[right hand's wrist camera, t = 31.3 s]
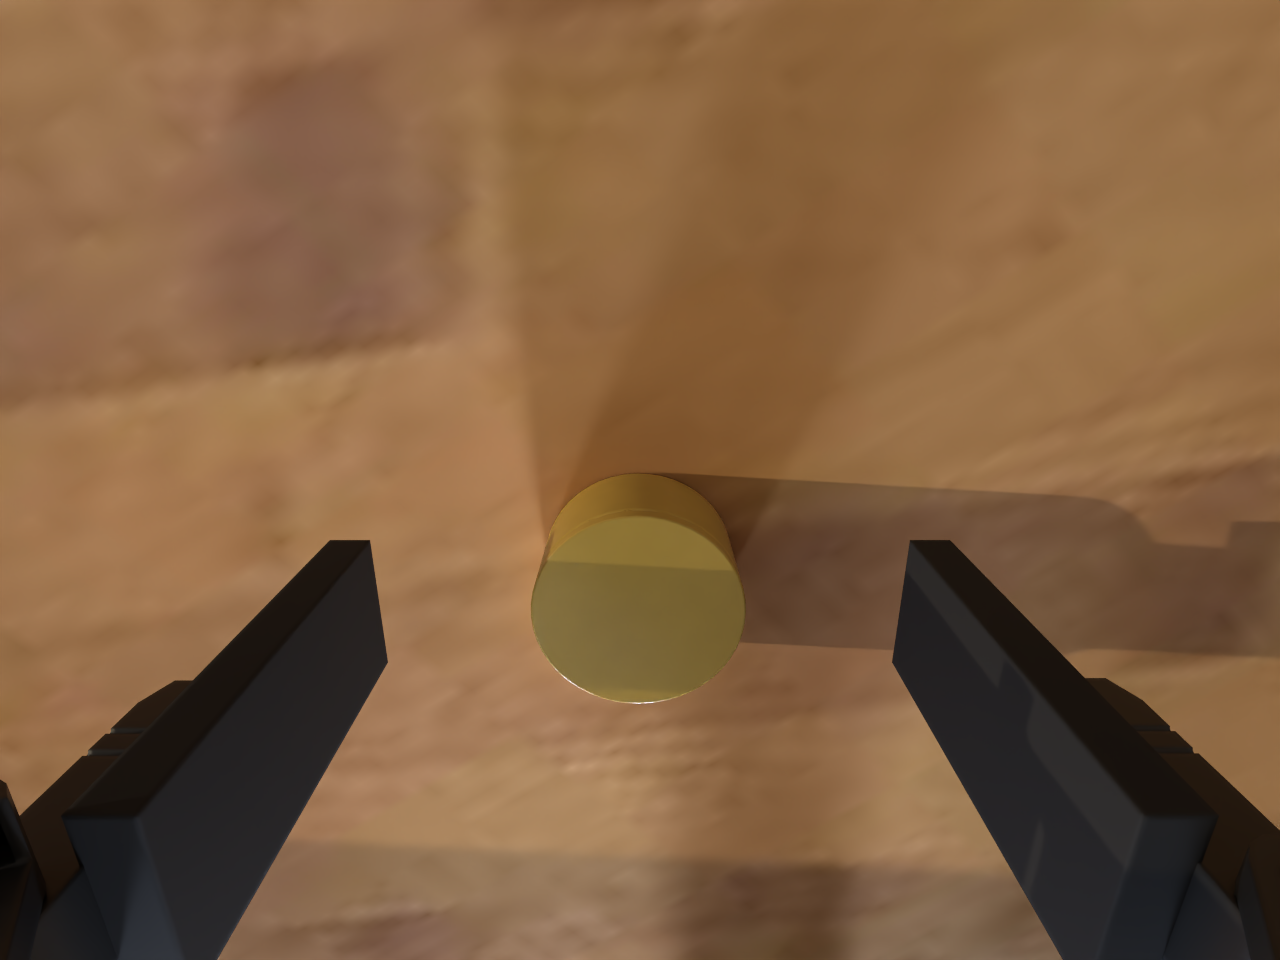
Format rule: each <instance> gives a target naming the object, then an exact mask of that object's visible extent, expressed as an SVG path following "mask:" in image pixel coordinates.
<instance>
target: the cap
mask: <svg viewBox="0 0 1280 960" xmlns="http://www.w3.org/2000/svg"><path fill="white" fill-rule="evenodd" d="M745 616H746V602H745V595H744V590H743V586H742V582H741V579H740V575H739V571H738V568H737V564H736V561H735V557H734V554H733V550H732V547H731V543H730V540H729V536H728V533H727V531H726V528H725V525H724V524H723V522H722V520H721V518H720V516H719V515H718V513H717V512H716V510H715V509H714V508H713V506H712V505H711V504H710V503H709V502H708V501H707V500H706V499H705V498H704V497H702V496H701V495H700V494H699V493H697V492H696V491H695V490H693V489H691V488H690V487H688V486H686V485H685V484H682V483H680V482H678V481H676V480H673V479H670V478H667V477H664V476H660V475H652V474H638V473H636V474H624V475H619V476H614V477H610V478H607V479H604V480H601V481H599V482H597V483H594V484H593V485H591V486H589V487H587V488H586V489H584V490H583V491H581V492H580V493H578V494H577V495H576V496H575V497H574V498H573V499H571V500H570V501H569V502H568V503H567V505H566V506H565V507H564V508H563V509H562V510H561V512H560V514H559V515H558V517H557V518H556V520H555V522H554V524H553V526H552V528H551V531H550V534H549V538H548V541H547V544H546V548H545V551H544V555H543V558H542V562H541V565H540V568H539V572H538V575H537V579H536V582H535V586H534V589H533V593H532V601H531V618H532V624H533V630H534V633H535V636H536V639H537V641H538V643H539V646H540V648H541V650H542V652H543V653H544V655H545V656H546V658H547V659H548V661H549V662H550V663H551V664H552V666H553V667H554V668H555V669H556V670H557V671H558V672H559V673H560V674H561V675H562V676H563V677H565V678H566V679H567V680H568V681H570V682H571V683H573V684H574V685H575V686H577V687H579V688H580V689H582V690H584V691H586V692H588V693H590V694H593V695H596V696H598V697H601V698H604V699H608V700H612V701H617V702H624V703H640V704H641V703H654V702H660V701H665V700H669V699H673V698H676V697H679V696H682V695H684V694H686V693H689V692H691V691H693V690H695V689H696V688H698V687H700V686H702V685H703V684H705V683H706V682H707V681H709V680H710V679H711V678H713V677H714V676H715V675H716V674H717V673H718V672H719V671H720V670H721V669H722V668H723V667H724V666H725V664H726V663H727V662H728V660H729V659H730V658H731V656H732V654H733V653H734V651H735V649H736V648H737V646H738V643H739V641H740V638H741V636H742V632H743V628H744V625H745Z"/></svg>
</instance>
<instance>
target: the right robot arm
mask: <svg viewBox="0 0 1280 960" xmlns="http://www.w3.org/2000/svg"><path fill="white" fill-rule="evenodd" d="M387 663H388V660H387V653H386V647H385V640H384V633H383V626H382V619H381V613H380V606H379V599H378V592H377V585H376V578H375V572H374V565H373V558H372V551H371V544H370V540H330V541H329V542H328V543H327V544H326V545H325V546H324V547H323V548H322V549H321V550H320V551H319V552H318V553H317V554H316V555H315V556H314V557H313V558H312V559H311V560H310V561H309V562H308V563H307V564H306V565H305V566H304V567H303V568H302V569H301V570H300V571H299V572H298V574H297V575H296V576H295V577H294V578H293V579H292V580H291V581H290V582H289V583H288V584H287V585H286V586H285V587H284V588H283V589H282V590H281V591H280V592H279V593H278V594H277V595H276V596H275V597H274V598H273V599H272V600H271V601H270V602H269V603H268V604H267V605H266V606H265V607H264V608H263V609H262V610H261V611H260V612H259V613H258V614H257V615H256V616H255V617H254V619H253V620H252V621H251V622H250V623H249V624H248V625H247V626H246V627H245V628H244V629H243V630H242V631H241V632H240V633H239V634H238V635H237V636H236V637H235V638H234V639H233V640H232V641H231V642H230V643H229V644H228V645H227V646H226V647H225V648H224V649H223V650H222V651H221V652H220V653H219V654H218V655H217V656H216V657H215V658H214V659H213V660H212V661H211V662H210V664H209V665H208V666H207V667H206V668H205V669H204V670H203V671H202V672H201V673H200V674H199V675H198V676H197V677H196V678H195V679H194V680H193V681H174V682H172V683H170V684H169V685H167V686H165V687H164V688H162V689H160V690H159V691H157V692H155V693H154V694H152V695H150V696H149V697H147V698H145V699H144V700H142V701H140V702H139V703H137V704H136V705H135V706H134V707H133V708H132V709H131V710H130V711H129V712H128V713H127V714H126V715H125V716H124V717H123V718H122V719H121V720H120V721H119V722H117V723H116V724H115V725H114V726H113V727H112V728H111V733H110V734H105V735H104V736H103V737H102V738H101V739H100V740H99V741H98V742H97V743H95V744H94V745H93V746H92V747H91V748H90V749H89V750H88V755H87V756H82V757H81V758H80V759H79V760H78V761H77V762H76V763H75V764H74V765H72V766H71V767H70V768H69V769H68V770H67V771H66V772H65V773H64V774H63V775H62V776H61V777H60V778H59V779H58V780H57V781H56V782H55V783H54V784H53V785H52V786H50V787H49V788H48V789H47V790H46V791H45V792H44V793H43V794H42V795H41V796H40V797H39V798H38V799H37V800H36V801H35V802H34V803H33V804H32V805H31V806H30V807H29V808H27V809H26V810H25V811H24V812H23V813H22V814H21V815H20V816H19V814H18V812H17V809H16V807H15V804H14V802H13V799H12V797H11V794H10V792H9V789H8V786H7V784H6V783H5V782H3V781H1V780H0V960H217V959H218V957H219V955H220V954H221V952H222V950H223V948H224V947H225V945H226V943H227V941H228V940H229V938H230V936H231V934H232V933H233V931H234V929H235V928H236V926H237V924H238V922H239V921H240V919H241V917H242V915H243V914H244V912H245V910H246V908H247V907H248V905H249V903H250V901H251V900H252V898H253V896H254V894H255V893H256V891H257V889H258V887H259V886H260V884H261V882H262V880H263V879H264V877H265V875H266V874H267V872H268V870H269V868H270V867H271V865H272V863H273V861H274V860H275V858H276V856H277V854H278V853H279V851H280V849H281V847H282V846H283V844H284V842H285V840H286V839H287V837H288V835H289V833H290V832H291V830H292V828H293V827H294V825H295V823H296V821H297V820H298V818H299V816H300V814H301V813H302V811H303V809H304V807H305V806H306V804H307V802H308V800H309V799H310V797H311V795H312V793H313V792H314V790H315V788H316V786H317V785H318V783H319V781H320V779H321V778H322V776H323V774H324V773H325V771H326V769H327V767H328V766H329V764H330V762H331V760H332V759H333V757H334V755H335V753H336V752H337V750H338V748H339V746H340V745H341V743H342V741H343V739H344V738H345V736H346V734H347V732H348V731H349V729H350V727H351V726H352V724H353V722H354V720H355V719H356V717H357V715H358V713H359V712H360V710H361V708H362V706H363V705H364V703H365V701H366V699H367V698H368V696H369V694H370V692H371V691H372V689H373V687H374V685H375V684H376V682H377V680H378V678H379V677H380V675H381V673H382V672H383V670H384V668H385V666H386V665H387ZM892 663H893V665H894V666H895V668H896V670H897V672H898V673H899V675H900V677H901V679H902V680H903V682H904V684H905V685H906V687H907V689H908V691H909V692H910V694H911V696H912V698H913V699H914V701H915V703H916V705H917V706H918V708H919V710H920V712H921V713H922V715H923V717H924V719H925V720H926V722H927V724H928V726H929V727H930V729H931V731H932V733H933V734H934V736H935V738H936V739H937V741H938V743H939V745H940V746H941V748H942V750H943V752H944V753H945V755H946V757H947V759H948V760H949V762H950V764H951V766H952V767H953V769H954V771H955V773H956V774H957V776H958V778H959V780H960V781H961V783H962V785H963V786H964V788H965V790H966V792H967V793H968V795H969V797H970V799H971V800H972V802H973V804H974V806H975V807H976V809H977V811H978V813H979V814H980V816H981V818H982V820H983V821H984V823H985V825H986V827H987V828H988V830H989V832H990V833H991V835H992V837H993V839H994V840H995V842H996V844H997V846H998V847H999V849H1000V851H1001V853H1002V854H1003V856H1004V858H1005V860H1006V861H1007V863H1008V865H1009V867H1010V868H1011V870H1012V872H1013V874H1014V875H1015V877H1016V879H1017V881H1018V882H1019V884H1020V886H1021V887H1022V889H1023V891H1024V893H1025V894H1026V896H1027V898H1028V900H1029V901H1030V903H1031V905H1032V907H1033V908H1034V910H1035V912H1036V914H1037V915H1038V917H1039V919H1040V921H1041V922H1042V924H1043V926H1044V928H1045V929H1046V931H1047V933H1048V934H1049V936H1050V938H1051V940H1052V941H1053V943H1054V945H1055V947H1056V948H1057V950H1058V952H1059V954H1060V955H1061V957H1062V959H1063V960H1280V830H1279V829H1278V828H1276V827H1275V826H1274V825H1273V824H1272V823H1271V822H1270V821H1269V820H1268V819H1267V818H1266V817H1265V816H1264V815H1263V814H1262V813H1261V812H1260V811H1259V810H1258V809H1256V808H1255V807H1254V806H1253V805H1252V804H1251V803H1250V802H1249V801H1248V800H1247V799H1246V798H1245V797H1244V796H1243V795H1242V794H1241V793H1240V792H1239V791H1237V790H1236V789H1235V788H1234V787H1233V786H1232V785H1231V784H1230V783H1229V782H1228V781H1227V780H1226V779H1225V778H1224V777H1223V776H1222V775H1221V774H1220V773H1219V772H1217V771H1216V770H1215V769H1214V768H1213V767H1212V766H1211V765H1210V764H1209V763H1208V762H1207V761H1206V760H1205V759H1204V758H1203V757H1202V756H1201V755H1200V754H1194V753H1193V748H1192V747H1191V746H1190V745H1189V744H1188V743H1187V742H1186V741H1185V740H1184V739H1183V738H1182V737H1181V736H1180V735H1179V734H1177V733H1176V732H1175V731H1170V726H1169V725H1168V724H1167V723H1166V722H1165V721H1164V720H1163V719H1162V718H1161V717H1160V716H1159V715H1157V714H1156V713H1155V712H1154V711H1153V710H1152V709H1151V708H1150V707H1149V706H1148V705H1147V704H1146V703H1145V702H1144V701H1143V700H1141V699H1139V698H1138V697H1136V696H1134V695H1133V694H1131V693H1129V692H1128V691H1126V690H1124V689H1123V688H1121V687H1119V686H1118V685H1116V684H1114V683H1113V682H1111V681H1109V680H1108V679H1106V678H1084V677H1083V676H1082V675H1081V674H1080V673H1079V672H1078V671H1077V670H1076V669H1075V668H1074V667H1073V666H1072V665H1071V664H1070V663H1069V661H1068V660H1067V659H1066V658H1065V657H1064V656H1063V655H1062V654H1061V653H1060V652H1059V651H1058V650H1057V649H1056V648H1055V647H1054V646H1053V645H1052V644H1051V643H1050V642H1049V641H1048V640H1047V639H1046V638H1045V637H1044V636H1043V635H1042V634H1041V633H1040V632H1039V631H1038V630H1037V629H1036V628H1035V627H1034V626H1033V625H1032V624H1031V623H1030V622H1029V621H1028V620H1027V619H1026V618H1025V616H1024V615H1023V614H1022V613H1021V612H1020V611H1019V610H1018V609H1017V608H1016V607H1015V606H1014V605H1013V604H1012V603H1011V602H1010V601H1009V600H1008V599H1007V598H1006V597H1005V596H1004V595H1003V594H1002V593H1001V592H1000V591H999V590H998V589H997V588H996V587H995V586H994V585H993V584H992V583H991V582H990V581H989V580H988V579H987V578H986V577H985V576H984V575H983V574H982V572H981V571H980V570H979V569H978V568H977V567H976V566H975V565H974V564H973V563H972V562H971V561H970V560H969V559H968V558H967V557H966V556H965V555H964V554H963V553H962V552H961V551H960V550H959V549H958V548H957V547H956V546H955V545H954V544H953V543H952V542H951V541H950V540H910V544H909V551H908V558H907V565H906V571H905V578H904V585H903V592H902V599H901V606H900V612H899V619H898V626H897V633H896V640H895V647H894V653H893V660H892Z"/></svg>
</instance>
